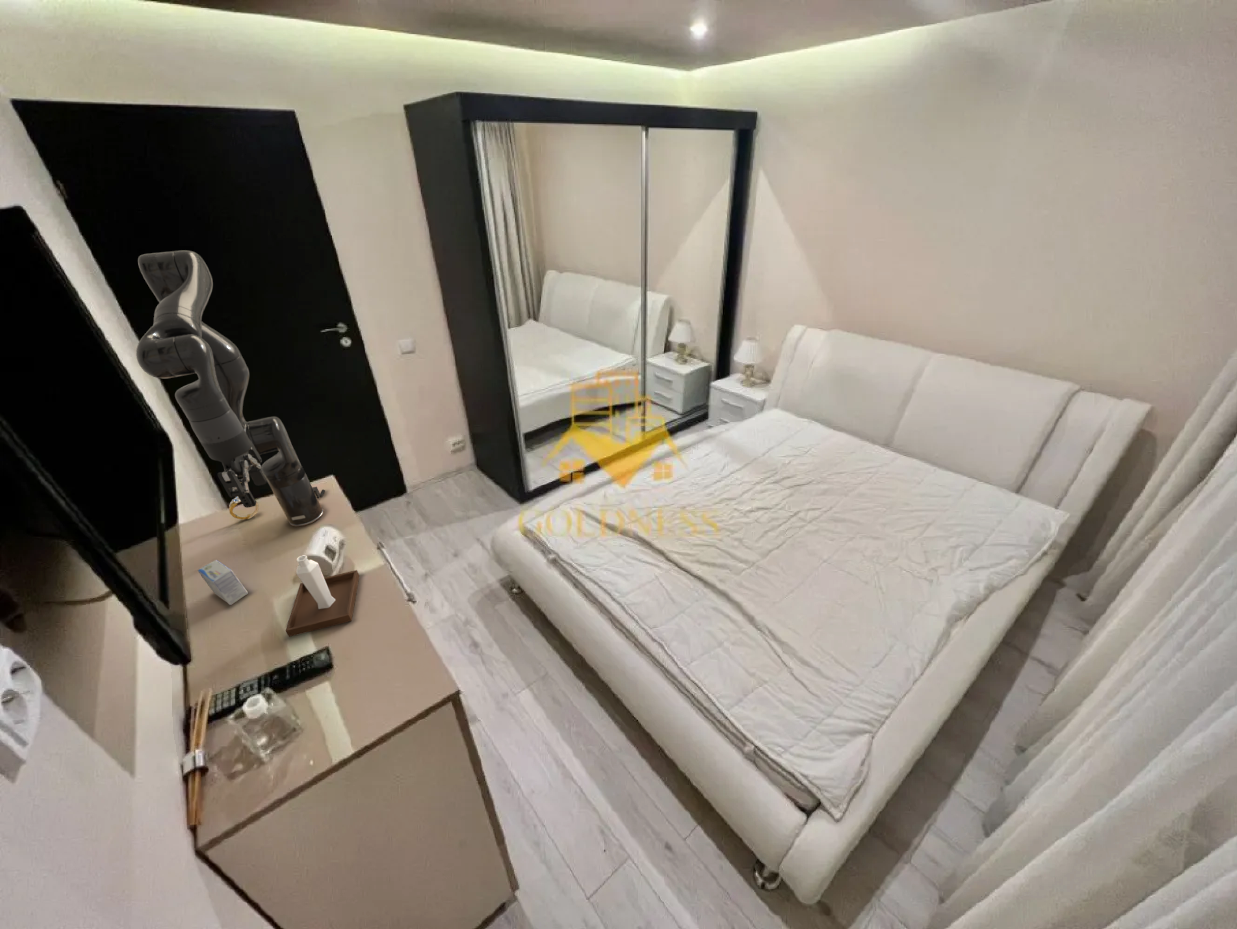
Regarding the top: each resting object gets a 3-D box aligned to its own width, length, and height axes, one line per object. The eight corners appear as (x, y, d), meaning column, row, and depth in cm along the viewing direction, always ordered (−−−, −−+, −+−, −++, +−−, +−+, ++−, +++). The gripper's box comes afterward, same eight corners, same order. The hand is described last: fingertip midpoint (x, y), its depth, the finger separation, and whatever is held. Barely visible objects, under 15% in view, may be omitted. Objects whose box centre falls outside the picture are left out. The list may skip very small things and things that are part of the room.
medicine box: (249, 594, 121) (232, 569, 116) (230, 606, 117) (212, 581, 113) (233, 582, 124) (216, 558, 119) (214, 594, 121) (196, 570, 116)
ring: (262, 510, 149) (250, 490, 145) (263, 516, 147) (251, 495, 143) (236, 519, 146) (223, 499, 142) (236, 525, 144) (223, 504, 140)
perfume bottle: (311, 606, 116) (285, 561, 107) (327, 594, 119) (303, 549, 111) (323, 613, 114) (297, 568, 106) (339, 600, 117) (316, 555, 109)
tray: (303, 589, 121) (300, 583, 120) (359, 575, 124) (356, 569, 123) (289, 637, 109) (285, 631, 108) (351, 620, 112) (348, 614, 111)
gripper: (230, 446, 94) (267, 510, 103) (251, 413, 105) (282, 474, 114) (185, 453, 92) (227, 518, 101) (211, 420, 103) (247, 480, 112)
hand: (256, 494), depth 107 cm, fingers open, 8 cm apart
